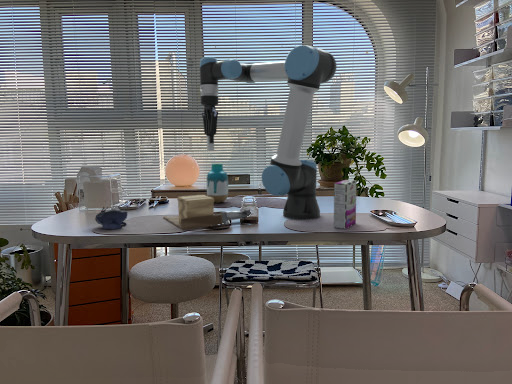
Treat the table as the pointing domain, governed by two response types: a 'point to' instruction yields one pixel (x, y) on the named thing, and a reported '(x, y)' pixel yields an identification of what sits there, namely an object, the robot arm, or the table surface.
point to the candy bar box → (344, 203)
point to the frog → (111, 218)
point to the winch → (234, 215)
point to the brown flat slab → (195, 221)
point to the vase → (217, 183)
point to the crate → (195, 206)
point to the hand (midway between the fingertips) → (210, 150)
